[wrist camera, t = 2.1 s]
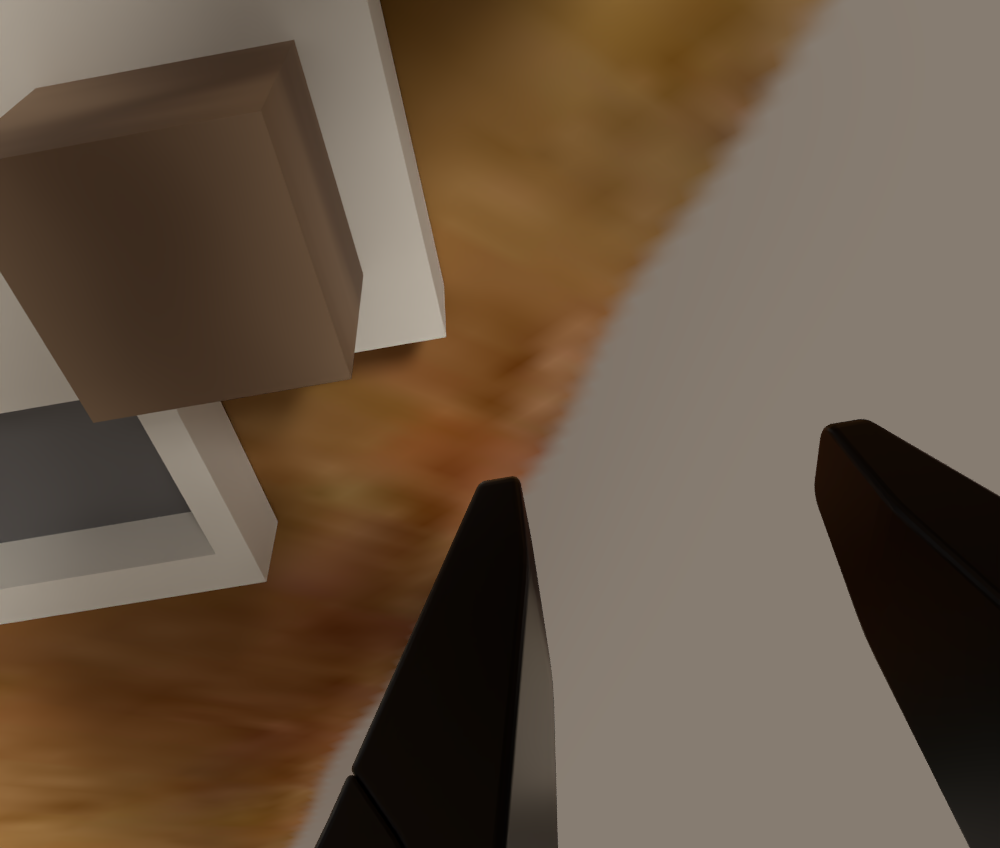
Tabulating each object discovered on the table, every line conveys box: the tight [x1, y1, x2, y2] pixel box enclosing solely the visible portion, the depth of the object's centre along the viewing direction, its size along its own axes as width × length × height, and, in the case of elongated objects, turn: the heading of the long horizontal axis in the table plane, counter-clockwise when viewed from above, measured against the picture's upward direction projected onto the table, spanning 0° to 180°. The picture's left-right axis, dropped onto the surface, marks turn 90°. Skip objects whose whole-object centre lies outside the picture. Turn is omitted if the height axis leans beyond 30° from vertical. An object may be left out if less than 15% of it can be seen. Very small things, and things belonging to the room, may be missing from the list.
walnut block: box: [0, 40, 363, 423], centre depth 15 cm, size 5×5×4 cm
